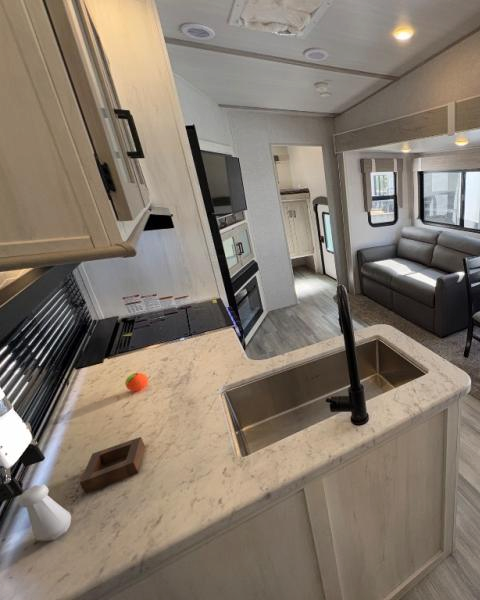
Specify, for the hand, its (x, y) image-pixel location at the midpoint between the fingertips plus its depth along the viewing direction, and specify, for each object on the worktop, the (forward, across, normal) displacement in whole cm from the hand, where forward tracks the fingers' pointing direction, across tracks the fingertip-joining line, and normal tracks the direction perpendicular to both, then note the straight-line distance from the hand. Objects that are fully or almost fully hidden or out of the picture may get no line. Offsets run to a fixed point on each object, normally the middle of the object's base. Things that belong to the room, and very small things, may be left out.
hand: (24, 478), depth 65 cm
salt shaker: (+17, 0, -1) cm, 17 cm away
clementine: (+16, -60, +6) cm, 63 cm away
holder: (+16, -15, +7) cm, 24 cm away
